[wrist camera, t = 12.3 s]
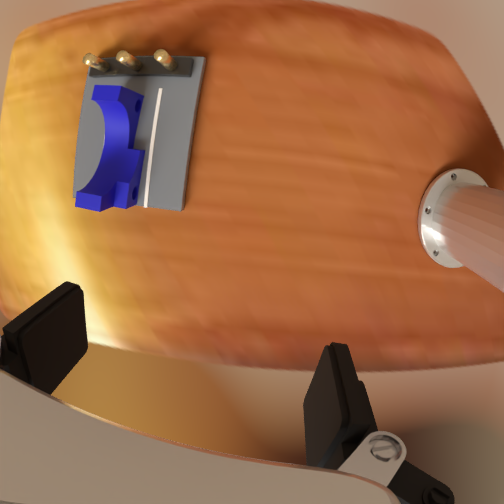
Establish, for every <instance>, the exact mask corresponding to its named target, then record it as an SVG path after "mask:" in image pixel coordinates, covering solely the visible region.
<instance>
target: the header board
mask: <svg viewBox="0 0 504 504" xmlns="http://www.w3.org/2000/svg"><path fill="white" fill-rule="evenodd" d="M134 57H154V56H134ZM171 57H191V58H193V60H194V65H193V70H192V75H191V78H189V77H165V76H124V77H100V78H93V77H90V76H89V72H90V67H91V66H89V70H88V75H87V80H86V85H85V90H84V96H83V102H82V108H81V114H80V121H79V129H78V137H77V146H76V157H75V169H74V185H73V198H76V192H77V191H79V190H81V189H82V188H84V187H85V186H86V185H87V184H88V183H89V181H90V180H91V179H92V177H93V175H94V173H95V171H96V169H97V167H98V165H99V162H100V159H101V155H102V151H103V146H104V139H105V122H104V116H103V113H102V110H101V108H100V106H99V105H98V104H97V103H96V102H95V101H93V100H91V98H92V94H93V90H94V85H118V86H123V87H126V88H128V89H130V90H132V91H135V92H137V93H139V94H141V95H143V96H144V98H143V103H142V107H141V111H140V116H139V121H138V125H137V130H136V136H135V141H134V146H133V149H138V150H145V155H144V161H143V166H142V172H141V179H140V185H139V192H138V199H137V204H136V205H138V206H144V207H145V208H147V207H153V208H160V209H168V210H175V211H182V210H184V202H185V194H186V185H187V177H188V169H189V162H190V154H191V147H192V140H193V134H194V127H195V121H196V114H197V108H198V102H199V97H200V91H201V85H202V80H203V74H204V69H205V64H206V59H205V57H194V56H171ZM111 58H116V57H110V58H100V59H111Z"/></svg>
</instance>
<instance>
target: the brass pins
mask: <svg viewBox="0 0 504 504" xmlns="http://www.w3.org/2000/svg"><path fill="white" fill-rule="evenodd" d="M83 63H84V64H86V65H89V66H91V67H90V72H89V76H90V77H93V78H100V77H124V76H165V77H189V78H191V75H192V70H193V65H194V60H193V58H191V57H171V56H170V55H169V54H168V53H167V52H166V51H165V50H164V49H159V50H157V51H156V52H155V53H154V57H134V56H132V55H131V54H129V53H128V52H126V51H125V50H122V51H120V52H118V53H117V55H116V58H111V59H100V58H98V57H97V56H95V55H93V54H91V53H88V54H86V55H85V56H84V57H83Z"/></svg>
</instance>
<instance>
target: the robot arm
mask: <svg viewBox="0 0 504 504" xmlns="http://www.w3.org/2000/svg"><path fill="white" fill-rule="evenodd" d="M425 209H426V211H425ZM418 231H419V236H420V240H421V243H422V245H423V248H424V249H425V251H426V252H427V254H428V255H429V256H430V257H431V258H432V259H433V260H434V261H436V262H437V263H438V264H440V265H443V266H445V267H450V268H458V267H462V266H466V267H467V268H469V269H470V270H472V271H473V272H475V273H476V274H478V275H479V276H481V277H482V278H484V279H485V280H487V281H488V282H489V283H491V284H492V285H494V286H495V287H497V288H498V289H499V290H501V291H502V292H504V191H503V190H499V189H494V188H490V187H488V185H487V184H486V182H485V181H484V180H483V179H482V178H481V177H480V176H479V175H478V174H476V173H475V172H473V171H470V170H467V169H460V168H456V169H450V170H447V171H445V172H443V173H441V174H440V175H439V176H437V177H436V178H435V179H434V180H433V181H432V182H431V183H430V185H429V187H428V188H427V190H426V191H425V194H424V196H423V198H422V200H421V204H420V208H419V215H418ZM3 332H4V335H2V336H1V335H0V504H454V495H453V492H452V491H451V490H450V488H449V487H447V486H446V485H445V484H443V483H442V482H440V481H438V480H436V479H435V478H433V477H431V476H430V475H428V474H426V473H425V472H423V471H422V470H420V469H418V468H417V467H415V466H414V465H412V464H410V463H409V462H407V461H406V460H404V459H405V456H406V447H405V445H404V443H403V442H402V441H401V439H399V438H398V437H397V436H395V435H394V434H391V433H389V432H385V431H378V429H377V426H376V422H375V419H374V415H373V412H372V408H371V405H370V402H369V398H368V395H367V392H366V389H365V386H364V383H363V382H362V381H359V380H358V377H357V374H356V371H355V367H354V364H353V361H352V358H351V354H350V351H349V348H348V346H347V344H341V343H334V342H332V343H331V344H330V346H328V345H326V346H325V347H324V350H323V352H322V355H321V358H320V360H319V363H318V366H317V368H316V371H315V373H314V376H313V379H312V381H311V384H310V386H309V389H308V391H307V394H306V396H305V399H304V404H303V408H304V423H305V441H306V461H307V466H304V465H297V464H288V463H279V462H273V461H266V460H259V459H253V458H247V457H241V456H236V455H230V454H225V453H220V452H215V451H210V450H206V449H202V448H198V447H193V446H190V445H185V444H182V443H177V442H174V441H171V440H167V439H164V438H160V437H157V436H153V435H150V434H147V433H144V432H141V431H138V430H135V429H132V428H129V427H126V426H123V425H120V424H117V423H115V422H112V421H109V420H107V419H104V418H102V417H99V416H96V415H94V414H92V413H89V412H87V411H84V410H82V409H80V408H77V407H75V406H73V405H71V404H68V403H66V402H64V401H62V400H60V399H57V398H55V397H53V396H51V394H52V392H53V391H54V390H55V389H56V388H57V386H58V385H59V384H60V383H61V382H62V380H63V379H64V378H65V377H66V376H67V374H68V373H69V372H70V371H71V370H72V368H73V367H74V366H75V365H76V364H77V363H78V361H79V360H80V359H81V358H82V357H83V356H84V354H85V353H86V351H87V349H88V341H87V332H86V321H85V309H84V294H83V290H81V288H80V286H79V285H77V284H74V283H71V282H67V281H66V282H64V283H63V284H61V285H60V286H58V287H57V288H56V289H54V290H53V291H51V292H50V293H49V294H47V295H46V296H44V297H43V298H42V299H40V300H39V301H38V302H36V303H35V304H33V305H32V306H31V307H29V308H28V309H27V310H25V311H24V312H23V313H21V314H20V315H19V316H17V317H16V318H15V319H13V320H12V321H11V322H10V323H8V324H7V325H6V326H4V327H3Z"/></svg>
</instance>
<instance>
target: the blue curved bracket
mask: <svg viewBox="0 0 504 504" xmlns="http://www.w3.org/2000/svg"><path fill="white" fill-rule="evenodd" d="M143 98H144V96H143V95H141V94H139V93H137V92H135V91H132V90H130V89H128V88H126V87H123V86H118V85H94V90H93V94H92V98H91V100H93V101H95V102H96V103H97V104H98V105H99V106H100V108H101V110H102V113H103V116H104V122H105V139H104V146H103V151H102V155H101V159H100V162H99V165H98V167H97V169H96V171H95V173H94V175H93V177H92V179H91V180H90V181H89V183H88V184H87V185H86V186H85V187H84V188H82V189H81V190H79V191H77V192H76V202H75V207H80V208H85V209H89V210H94V211H99V212H101V211H103V210H106V209H108V208H110V207H113V206H114V207H119V208H124V209H127V208H129V207H132V206H134V205H136V204H137V199H138V192H139V185H140V179H141V172H142V166H143V161H144V155H145V150H138V149H133V146H134V141H135V136H136V130H137V125H138V121H139V116H140V111H141V107H142V103H143Z"/></svg>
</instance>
